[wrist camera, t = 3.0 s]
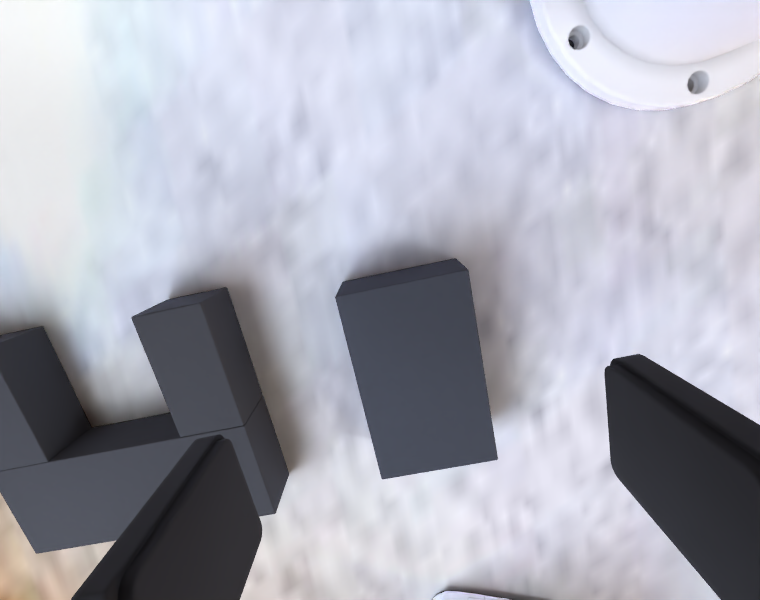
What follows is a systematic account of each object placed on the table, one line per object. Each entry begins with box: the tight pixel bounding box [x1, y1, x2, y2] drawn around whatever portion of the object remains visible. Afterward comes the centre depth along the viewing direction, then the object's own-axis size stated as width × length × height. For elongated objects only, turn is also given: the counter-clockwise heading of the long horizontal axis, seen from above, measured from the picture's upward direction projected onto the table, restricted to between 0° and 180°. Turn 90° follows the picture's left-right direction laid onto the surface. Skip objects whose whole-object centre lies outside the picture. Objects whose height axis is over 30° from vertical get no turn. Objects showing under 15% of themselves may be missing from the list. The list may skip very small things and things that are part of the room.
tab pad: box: [335, 259, 498, 479], centre depth 19 cm, size 10×6×3 cm, turn 12°
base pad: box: [0, 287, 289, 553], centre depth 21 cm, size 12×14×3 cm
